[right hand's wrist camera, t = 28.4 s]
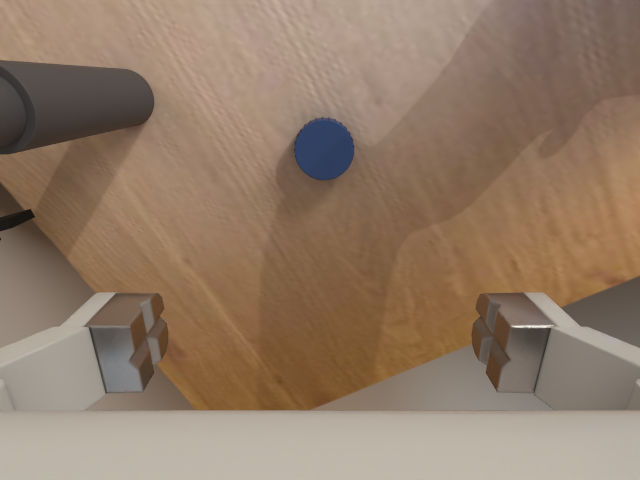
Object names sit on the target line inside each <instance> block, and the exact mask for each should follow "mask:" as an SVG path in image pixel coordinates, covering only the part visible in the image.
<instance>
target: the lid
mask: <svg viewBox="0 0 640 480" xmlns="http://www.w3.org/2000/svg"><path fill="white" fill-rule="evenodd" d="M350 135H351V134H350V132H348V131H347V128H346V127H344V126H343V125H342V123H341V122H340V123H339V122H338V121H336V119H334V120H333V119H330V118H329V117H328V118H323V117H322V118H319V119H317V118H316V119H315V120H313V121H310V122H309V123H308V124H305V125H304V127H303V129H301V130H300V133H299V135H297V140H296V141H295V149H294V151H295V157H296V160H297V163H298V165H299V166H300V168H301V169H302V170H303V171H304V172H305V173H306V174H307V175H309V176H310V177H312V178H315V179H319V180H330V179H333V178H336V177H338V176H340V175H341V174H343V173H344V172H345V171H346V170H347V169H348V167H349V166H350V164H351V162H352V160H353V155H354V145H353V139H352V137H351V136H350Z"/></svg>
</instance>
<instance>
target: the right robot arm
mask: <svg viewBox="0 0 640 480" xmlns="http://www.w3.org/2000/svg"><path fill="white" fill-rule="evenodd" d="M163 310H164V305H163V300H162V297H161V296H160V295H159V294H158V293H118V292H104V293H96V294H94V295H93V296H92V297H91V298H90V299H89V300H88V301H87V302H86V303H85V304H84V305H83V306H81V307H80V308H79V309H78V310H77V311H76V312H75V313H74V314H73V315H72V316H71V317H69V318H68V319H67V320H66V321H65V322H64V323H63V324H62V325H61V326H60V327H51V328H49V329H46V330H44V331H41V332H39V333H36V334H34V335H32V336H29V337H27V338H24V339H22V340H19V341H17V342H14V343H12V344H10V345H7V346H5V347H2V348H0V480H640V348H638V347H635V346H633V345H630V344H628V343H625V342H623V341H621V340H618V339H616V338H613V337H611V336H608V335H606V334H604V333H601V332H599V331H596V330H594V329H591V328H589V327H580V326H579V325H578V324H577V323H576V322H575V321H574V320H573V319H572V318H571V317H570V316H568V315H567V314H566V313H565V312H564V311H563V310H562V309H561V308H560V307H559V306H558V305H557V304H555V303H554V302H553V301H552V300H551V299H550V298H549V297H548V296H547V295H546V294H544V293H541V292H529V293H485V294H480V295H479V297H478V300H477V304H476V310H477V312H478V313H479V315H480V317H479V318H478V319H477V320H476V321H475V322H474V323H473V328H472V345H473V349H474V352H475V354H476V356H477V358H478V360H479V361H481V362H482V363H484V364H485V365H487V369H486V374H487V375H488V377H489V379H490V381H491V382H492V384H493V386H494V387H495V389H496V391H497V392H504V393H534V395H535V396H536V397H537V398H539V399H540V400H541V401H543V402H544V403H545V404H547V405H548V406H549V407H551V408H552V409H553V410H87V409H88V408H89V407H91V406H92V405H93V404H95V403H96V402H97V401H99V400H100V399H101V398H103V397H104V396H105V395H106V393H134V392H143V391H144V389H145V387H146V386H147V384H148V382H149V381H150V379H151V377H152V375H153V374H154V369H153V365H155V364H156V363H158V362H159V361H161V360H162V358H163V356H164V354H165V352H166V348H167V344H168V328H167V323H166V322H165V321H164V320H163V319H162V318H161V317H160V315H161V313H162V312H163Z"/></svg>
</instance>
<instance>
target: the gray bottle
mask: <svg viewBox="0 0 640 480" xmlns="http://www.w3.org/2000/svg"><path fill="white" fill-rule="evenodd" d="M153 107H154V97H153V93H152V90H151V88H150V86H149V85H148V83H147V82H146V81H145V80H144V78H142V77H141V76H140V75H139V74H137V73H135V72H133V71H131V70H127V69H116V68H102V67H88V66H74V65H60V64H46V63H32V62H18V61H4V60H0V154H12V153H17V152H21V151H25V150H30V149H34V148H39V147H43V146H47V145H52V144H56V143H60V142H65V141H69V140H74V139H78V138H82V137H87V136H91V135H96V134H100V133H104V132H109V131H113V130H117V129H122V128H126V127H131V126H135V125H139V124H141V123H143V122H145V121H146V120H147V119H148V118H149V117H150V115H151V113H152V111H153Z"/></svg>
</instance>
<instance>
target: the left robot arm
mask: <svg viewBox="0 0 640 480" xmlns="http://www.w3.org/2000/svg"><path fill="white" fill-rule="evenodd" d="M34 217H35V216H34V214H33V212H32V211H31V209H29V210H25V211H22V212H18V213H15V214H11V215H8V216H4V217H1V218H0V231H3V230H6V229H10V228H13V227H15V226H17V225H19V224H21V223H23V222H25V221H27V220H30V219H32V218H34ZM0 240H1V238H0Z"/></svg>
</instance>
